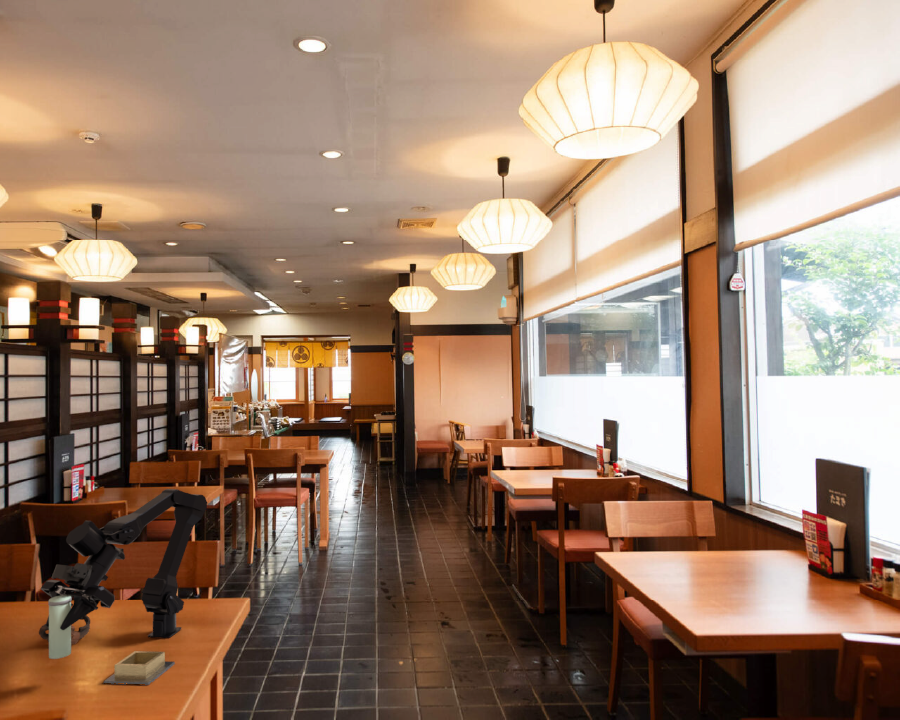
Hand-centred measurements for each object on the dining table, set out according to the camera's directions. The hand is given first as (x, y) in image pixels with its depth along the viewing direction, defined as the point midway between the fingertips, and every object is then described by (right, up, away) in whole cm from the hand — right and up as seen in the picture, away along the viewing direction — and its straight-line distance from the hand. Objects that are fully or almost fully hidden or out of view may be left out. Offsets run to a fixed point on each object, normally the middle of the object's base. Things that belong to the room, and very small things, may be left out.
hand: (54, 628), depth 146 cm
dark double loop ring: (-14, -15, +26) cm, 33 cm away
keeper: (+17, -13, +5) cm, 22 cm away
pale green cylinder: (+1, -7, +1) cm, 7 cm away
